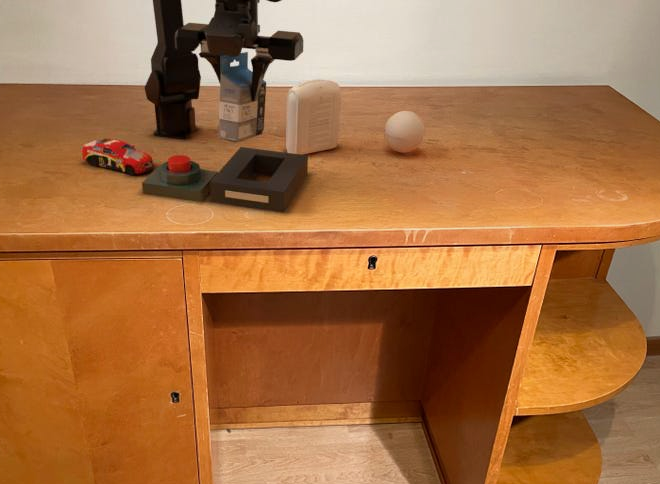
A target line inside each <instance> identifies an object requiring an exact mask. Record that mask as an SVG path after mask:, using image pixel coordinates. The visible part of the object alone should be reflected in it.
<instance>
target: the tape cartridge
mask: <svg viewBox="0 0 660 484" xmlns="http://www.w3.org/2000/svg"><path fill="white" fill-rule="evenodd" d="M234 62H236V63H238V65H231V64H232V63H234ZM248 65H249V52H248V51H245V52H241V53H240V55H238V56H236V57H229V56H228V55H222V56H220V66H221V82H220V83H219V108H218V109H219V111H218V112H219V113H218V115H219V116H218V117H219V118H218V139H219V140H223V141H228V142H231V143H241V142H244V141H247V140H249V139H252V138H255V137H257V136H261V135H264V130H265V115H266V113H265V112H266V95H267V81H265V80H264V79H263V81H262V84H261V87H260V90H259V93H258V96H257V99H256V101H255V102H253V101H252V95H251V89H252V71H253V70H251V69H249V66H248Z"/></svg>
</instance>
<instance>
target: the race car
mask: <svg viewBox="0 0 660 484" xmlns="http://www.w3.org/2000/svg"><path fill="white" fill-rule="evenodd" d="M81 154H82V155H81V156H82V159H83V161H85V162H86V163H89V164H90V166H92V167H98V166H99V167H102V168H107V169H110V170H115V171H119V172H123V173H125V172H126V174H127V175H129V176H133V177H134V176H135V175H136V174H143V173H146V172H149V171H151V170H152V169H153V168H154V160H153V157H152V156H151V155H150V154H149V153H147V152H144V151H143V150H140V149H137V148H136V145H135V144H133V145H132V144H130V143H128V142H126V141H123V140H120V139H116V138H102V139H94V140H90V141H89V142H86V143H85V144H83V146H82V152H81Z"/></svg>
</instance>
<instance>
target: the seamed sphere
mask: <svg viewBox="0 0 660 484" xmlns="http://www.w3.org/2000/svg"><path fill="white" fill-rule="evenodd" d="M382 134H384V139H385V142H386V144H387V146H389V148H391V149H392V151H395V152H397V153H401V154H406V153H410V152H413V151H415V150H416V149H417V148H418V147H420V145H421V144H422V142H423V140H424V137H425V124H424V122H423V119H422V118H421V117H420V116H419V115H418V114H417V113H415V112H413V111H410V110H401V111H398V112H395V113H394V114H393V115H392V116H390V117H389V119H388V120H387V121H386V123H385V128H384V132H381V133H376V134H375V136H377V135H382Z"/></svg>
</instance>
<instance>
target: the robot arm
mask: <svg viewBox="0 0 660 484" xmlns="http://www.w3.org/2000/svg"><path fill="white" fill-rule="evenodd" d="M266 1H267V2H269V3H279V2H282V0H266ZM260 2H261V1H260V0H215V4H214V14H213V17H211V19H210V21H209V23H198V22H187V23H184V16H183V15H184V14H183V4H182V0H152V6H153V15H154V23H155V30H156V31H155V32H156V38H157V43H156V46H155V49H154V51H153V53H152V55H151V58H150V68H151V69H150V70H151V72H150V74H149V76H148V79H147V80H146V83H145V85H144V92H145V96H146V100H147V101H149V102H150V103H152V104H153V105H154V115H155V125H156V129H155V130H154V131H153V133H152V134H153V136H158V137H165V138H173V139H181V140H185V139H187V138H188V137H189V136H190V135H192V133H193V132H194V131H196V129H197V128H198V126H197V124H196V111H195V107H194V106H193V103H192V102H193V101H192V100H199V97H200V89H201V80H202V75H201V72H200V67H199V58H198V56H199V57H200V58H202V59H204V60H206V61H207V62H208V63H209V64H210V66H211V68H212V69H213V71H214V73H215V76H216V78H217V80H218V83H219V84H220V82H221V66H220V56H222V55H228V56H229V57H236V56H238V55H240V53H242V50H243V49H249V50H254V51H255V55H254V56H253V57H252V58H251V59H250V63H251V69H252V70H251V71H252V89H251V95H252V101H253V102H255V101H256V99H257V96H258V93H259V90H260V87H261V84H262V81H263V80H264V79H265V76H266V73H267V70H268V69H269V67H270V64H272V63H273V62H275V60H279V61H289V62H292V61H296V60H297V59H298V58H299V56H300V55H302V54H303V53H304V37H303V36H302V34H301V32H300V31H299V32H297V31H288V30H277V31H276V32H274V33H273V34H272V35H271V36H267V35H265V36H264V35H259V33H260V32H261V25H260V24H259V3H260ZM198 47H200V52H199V53H198V55H197V53H193V52H195V51H196V50H197V49H198Z"/></svg>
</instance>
